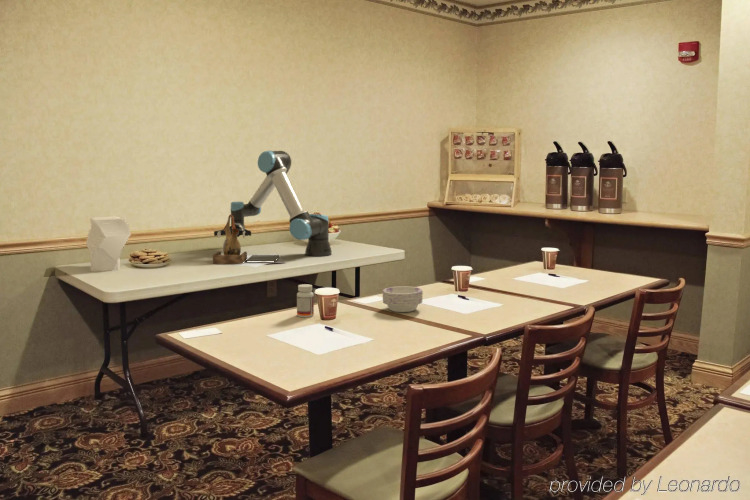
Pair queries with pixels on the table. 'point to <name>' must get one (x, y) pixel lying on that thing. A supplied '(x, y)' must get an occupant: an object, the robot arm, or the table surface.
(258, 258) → the mat
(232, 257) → the holder
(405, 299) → the paper bowls
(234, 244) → the ceramic vessel
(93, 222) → the white faceted vase
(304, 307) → the pill bottle
